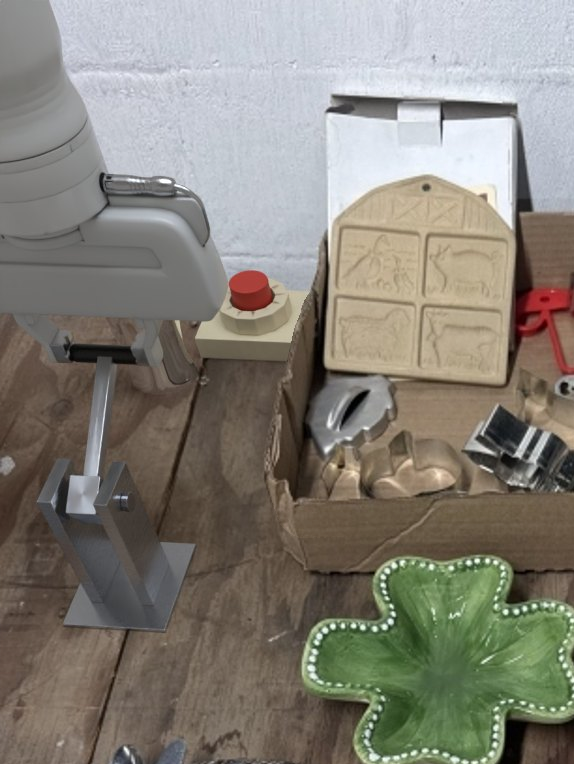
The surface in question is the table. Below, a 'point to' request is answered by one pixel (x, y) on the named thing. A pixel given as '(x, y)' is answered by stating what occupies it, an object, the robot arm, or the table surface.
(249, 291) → the button
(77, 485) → the lever
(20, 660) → the table surface
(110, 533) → the bracket
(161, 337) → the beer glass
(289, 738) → the table surface
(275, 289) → the button box
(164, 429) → the table surface
